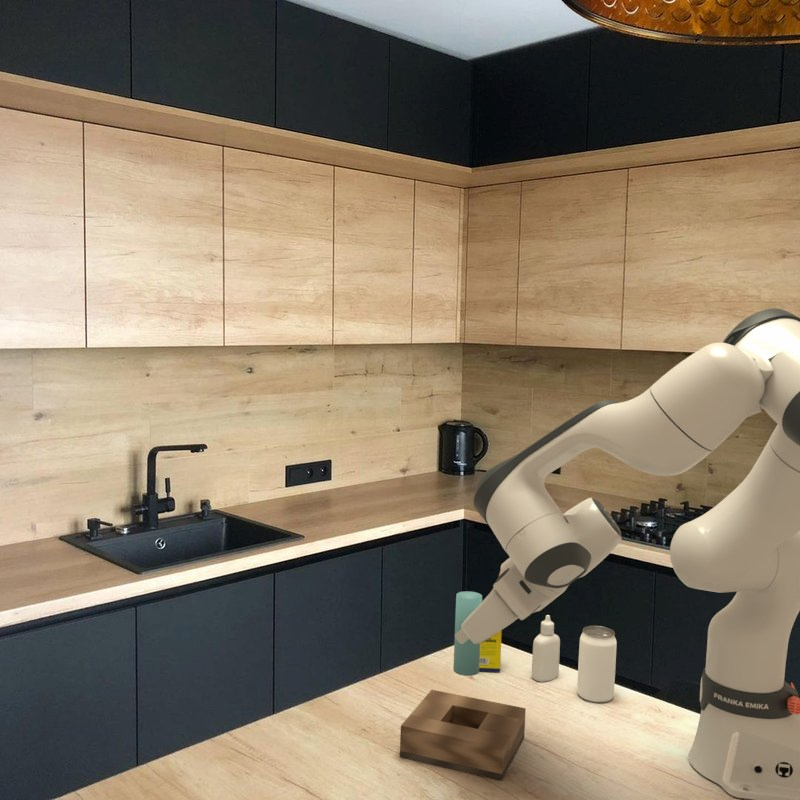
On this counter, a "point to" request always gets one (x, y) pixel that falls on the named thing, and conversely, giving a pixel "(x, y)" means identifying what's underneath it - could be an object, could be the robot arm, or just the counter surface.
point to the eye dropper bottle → (546, 653)
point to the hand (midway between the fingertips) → (464, 633)
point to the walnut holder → (463, 734)
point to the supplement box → (490, 654)
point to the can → (597, 664)
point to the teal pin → (468, 651)
